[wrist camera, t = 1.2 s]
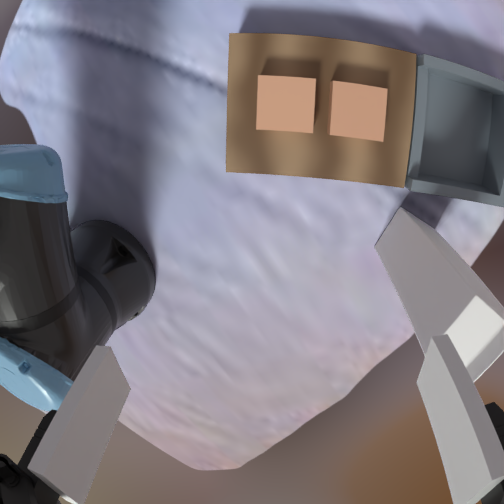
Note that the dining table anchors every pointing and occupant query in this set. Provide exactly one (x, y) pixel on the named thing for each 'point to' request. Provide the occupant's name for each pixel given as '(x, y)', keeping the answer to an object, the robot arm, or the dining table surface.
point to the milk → (441, 292)
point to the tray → (457, 133)
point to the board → (318, 108)
